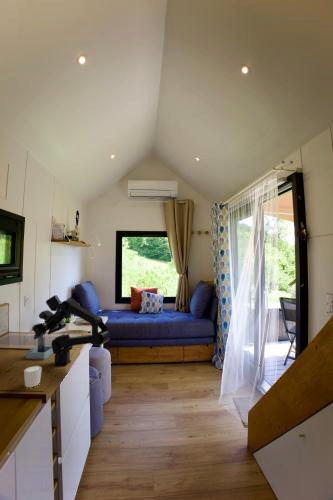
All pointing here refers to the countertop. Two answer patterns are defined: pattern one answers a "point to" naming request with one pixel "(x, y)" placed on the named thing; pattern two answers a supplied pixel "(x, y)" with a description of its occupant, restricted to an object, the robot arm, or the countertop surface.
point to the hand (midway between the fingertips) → (41, 336)
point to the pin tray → (37, 355)
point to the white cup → (32, 376)
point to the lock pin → (41, 344)
